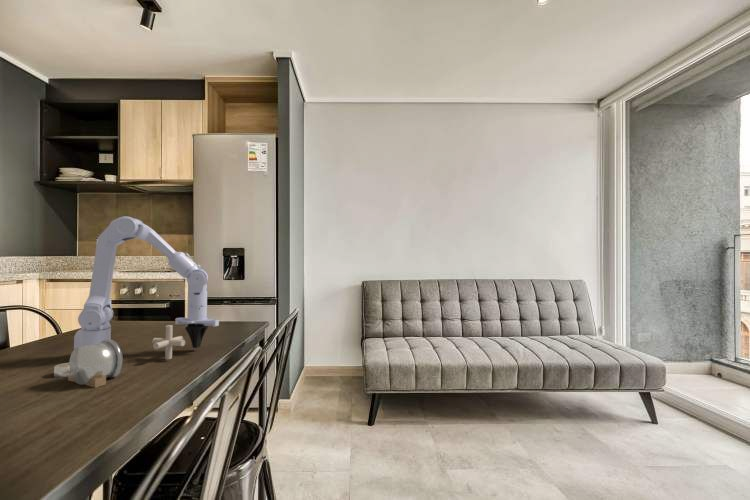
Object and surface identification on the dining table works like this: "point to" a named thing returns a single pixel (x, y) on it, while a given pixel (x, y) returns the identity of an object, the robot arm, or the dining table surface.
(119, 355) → the duct stub
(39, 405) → the dining table surface
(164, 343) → the pipe connector
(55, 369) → the foil tape roll
